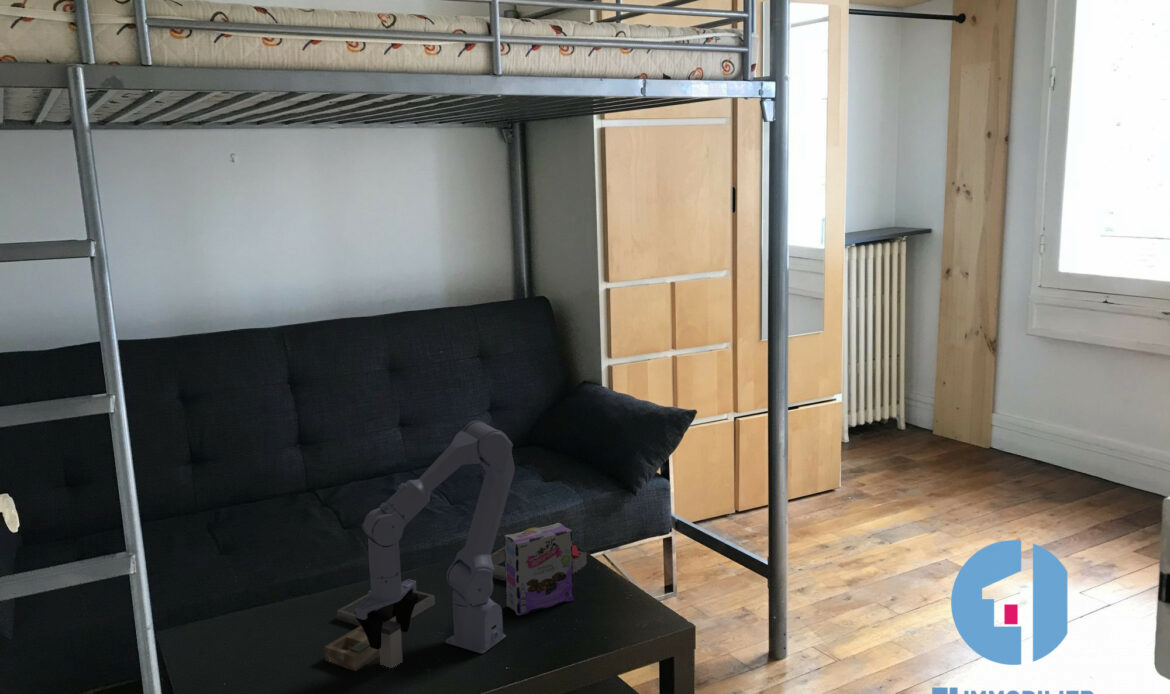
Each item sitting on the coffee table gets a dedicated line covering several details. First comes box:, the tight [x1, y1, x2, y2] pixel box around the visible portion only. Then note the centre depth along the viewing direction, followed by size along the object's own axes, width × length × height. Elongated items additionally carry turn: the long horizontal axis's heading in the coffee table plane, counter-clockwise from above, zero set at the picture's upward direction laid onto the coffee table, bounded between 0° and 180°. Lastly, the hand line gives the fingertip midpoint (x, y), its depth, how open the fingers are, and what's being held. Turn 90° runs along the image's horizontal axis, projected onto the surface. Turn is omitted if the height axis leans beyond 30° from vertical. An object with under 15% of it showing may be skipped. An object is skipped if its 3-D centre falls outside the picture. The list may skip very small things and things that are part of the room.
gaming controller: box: [376, 601, 419, 623], centre depth 204 cm, size 10×5×6 cm
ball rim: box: [491, 545, 588, 582], centre depth 224 cm, size 20×17×3 cm
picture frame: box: [336, 590, 436, 627], centre depth 205 cm, size 14×16×2 cm
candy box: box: [503, 522, 575, 616], centre depth 205 cm, size 14×6×16 cm, turn 120°
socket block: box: [323, 626, 403, 672], centre depth 188 cm, size 8×13×3 cm, turn 149°
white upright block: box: [379, 620, 404, 669], centre depth 182 cm, size 3×3×8 cm
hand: (389, 639), depth 182 cm, fingers open, 7 cm apart
